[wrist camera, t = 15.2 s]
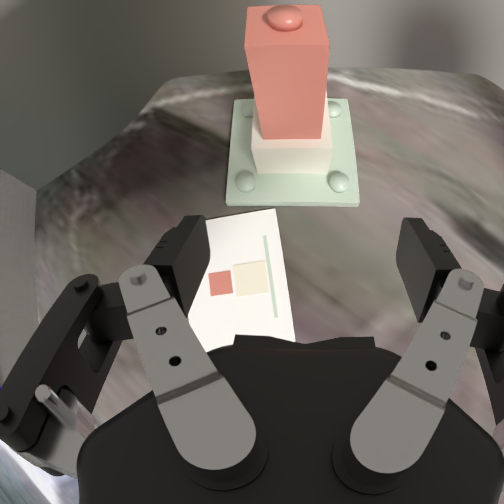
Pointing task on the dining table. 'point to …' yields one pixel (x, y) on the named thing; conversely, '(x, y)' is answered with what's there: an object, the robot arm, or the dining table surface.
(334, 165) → the tower base
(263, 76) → the tall brick
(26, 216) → the house
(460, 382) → the dining table surface
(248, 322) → the page
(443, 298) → the robot arm
